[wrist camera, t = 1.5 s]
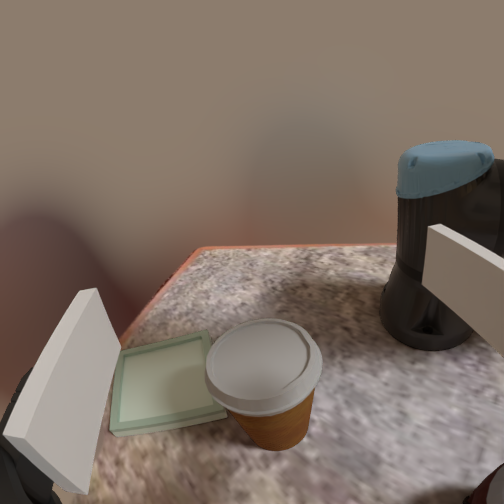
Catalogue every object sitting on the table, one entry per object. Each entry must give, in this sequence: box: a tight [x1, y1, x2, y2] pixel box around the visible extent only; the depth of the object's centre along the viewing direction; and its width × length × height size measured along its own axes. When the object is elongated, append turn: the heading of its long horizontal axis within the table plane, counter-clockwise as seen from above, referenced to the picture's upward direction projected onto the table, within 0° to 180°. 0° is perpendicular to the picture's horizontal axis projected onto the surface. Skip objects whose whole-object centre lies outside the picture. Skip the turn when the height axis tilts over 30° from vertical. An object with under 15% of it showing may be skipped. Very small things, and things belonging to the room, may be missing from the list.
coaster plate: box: [109, 329, 228, 437], centre depth 35 cm, size 14×14×2 cm
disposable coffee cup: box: [205, 318, 323, 451], centre depth 25 cm, size 10×10×12 cm
